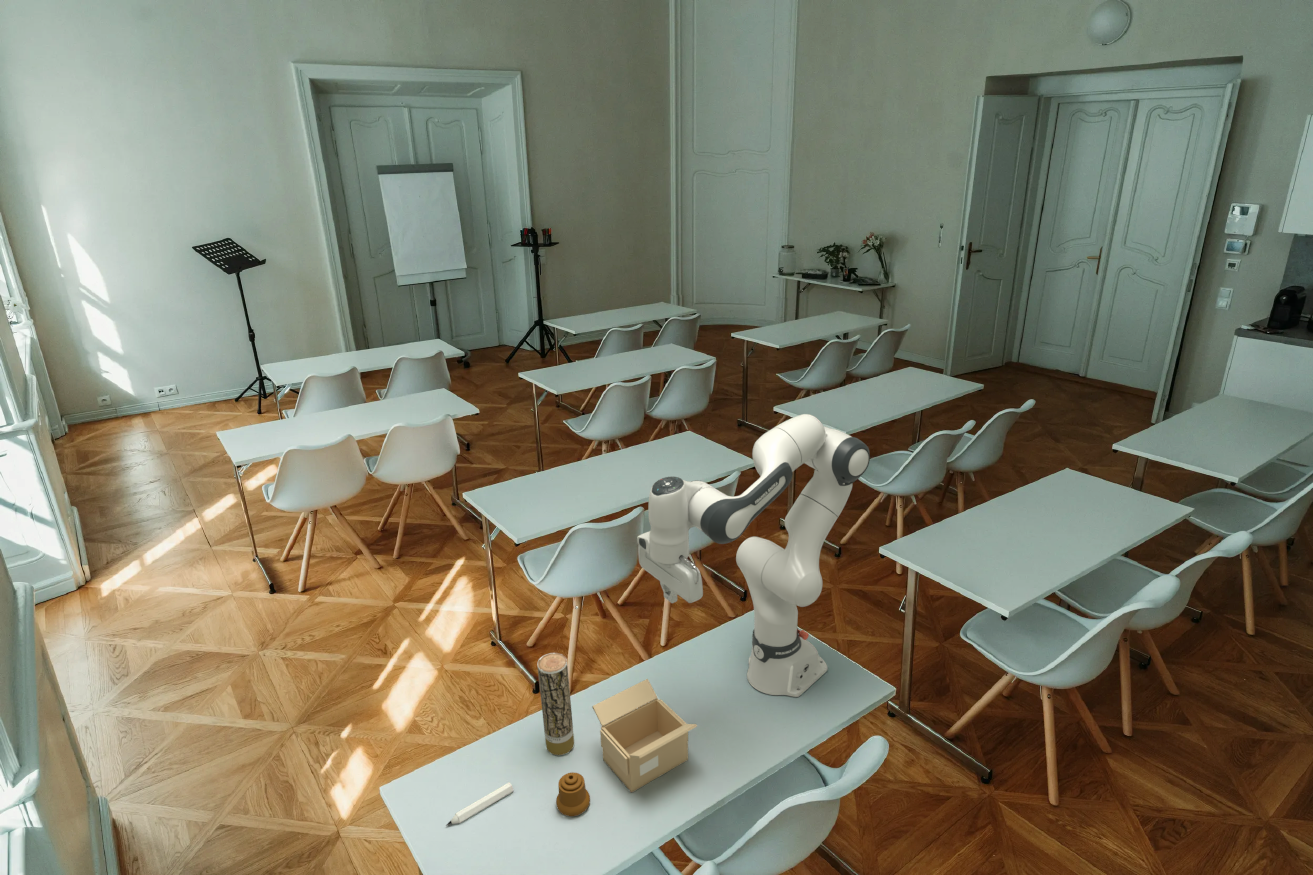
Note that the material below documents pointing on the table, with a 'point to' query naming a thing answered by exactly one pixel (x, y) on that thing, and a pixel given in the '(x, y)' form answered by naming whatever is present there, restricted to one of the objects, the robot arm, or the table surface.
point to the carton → (643, 744)
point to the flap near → (662, 741)
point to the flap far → (624, 702)
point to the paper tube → (556, 703)
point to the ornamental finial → (572, 795)
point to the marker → (482, 804)
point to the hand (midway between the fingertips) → (670, 599)
